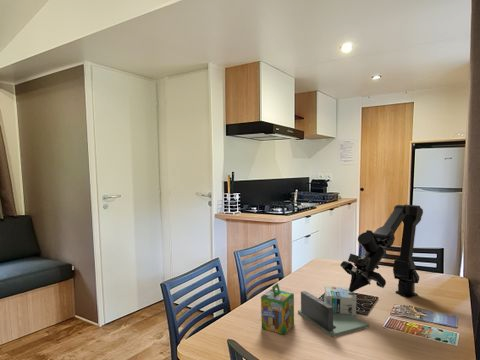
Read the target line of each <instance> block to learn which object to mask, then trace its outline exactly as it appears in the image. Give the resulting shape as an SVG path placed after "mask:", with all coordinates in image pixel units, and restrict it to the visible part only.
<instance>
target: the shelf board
mask: <svg viewBox="0 0 480 360" xmlns="http://www.w3.org/2000/svg"><path fill="white" fill-rule="evenodd" d="M297 313H298V315H301V316H302V317H303V318H304V319H306V320H308V321H309V322H310V323H311V324H313V325H314V326H316V327H317V328H318V329H320V330H321V331H323V332H324V333H326V334H327V335H328V336H330V337H331V338H335V337H339V336H342V335H345V334H349V333H352V332H357V331H359V330H364V329H366V328H369V327H370V324H369V323H367V322H365V321H364V320H362V319H361V318H359V317H356V316H355V315H353V314H340V313H333V325H334V326H336V328H333V330H332V331H329V332H328V331H327V330H326V329H324V328H323V327H321V326H320V325H318V324H317V323H315V322H314V321H313V320H311V319H310V318H308V317H307V316H305V315H304V314H303V313H301V309H299V310H297Z"/></svg>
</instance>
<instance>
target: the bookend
mask: <svg viewBox="0 0 480 360" xmlns="http://www.w3.org/2000/svg"><path fill="white" fill-rule="evenodd" d="M300 310H301V313H303V314H304V315H305V316H307V317H308V318H310V319H311V320H313V321H314V322H315V323H317V324H318V325H320V326H321V327H323V328H324V329H326V330H327V331H328V332H329V331H332V330H333V328H336V326H334V325H333V307H332V306H331V305H329V304H327V303H325V302H324V300H322V299H320V298H318V297H317V296H315V295H314V294H311V293H310V292H308V291H306V290H303V291H300Z"/></svg>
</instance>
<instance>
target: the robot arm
mask: <svg viewBox="0 0 480 360" xmlns="http://www.w3.org/2000/svg"><path fill="white" fill-rule="evenodd" d="M423 214H424V209H423V208H422V207H421V206H420V205H416V204H415V205H414V204H396V205H395V206H394V207H393V211H392V212H391V213H390V215H389V216H388V218H387V219H386V220H385V222H384V224H383V225H382V226H380V227H378V228H377V229H376V230H375V231H374V232H373V230H369V229H366V231H365V232H362V233H360V234H359V235H358V236H357V242H358V243H359V245H360V246H361V248H362V249H363V250H364V251H365V252H366V253H365V254H362V255H360V256H359V255H356V254H354V253H349V255H348V259H347V260H343V261H342V262H341V263H340V267H341V268H342V269H343V270H344V271H345V273H347V275H350V276H351V277H350V278H351V279H350V282H349V283H350V284H349V287H348V288H349V291H350V292H354V293H355V291H357V290H359V289H361V288H364V287H365V286H368V285H371V281H374V282H376V283H375V284H376V286H377V287H380V288H382V289H385V286H386V284H387V281H386V279H385V278H384V276H382V274H380V273H379V272H376V271H375V270H376V269H377V270H378V269H379V268H380V266H379V263H380V262H381V261H382V259H383V258H387V257H388V253H387V249H384V248H391V247H392V246H393V244H394V241H395V239H396V238H395V233H396V232H397V230H398V228H399V227H400V225H401V224H402V223H403V227H402V234H401V243H400V245H401V246H400V251H399V257H398V258H397V259H394V261H393V266H392V267H393V268H392V273H393V278H394V279H395V280H398V284H397V290H395V291H394V292H395V293H396V294H399V295H401V296H403V297H405V298H412V297H415V296H418V295H419V294H418V292H415V288H416V287H415V286H416V285H415V284H418V283H419V281H420V275H419V273H418V272H417V271H416V264H415V262H414V259H413V255H414V254H413V253H414V246H415V237H416V230H417V226H418V224H419V223H420V222H421V221H422V218H423V217H422V216H423ZM352 263H353V264H352Z"/></svg>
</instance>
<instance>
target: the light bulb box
mask: <svg viewBox="0 0 480 360" xmlns="http://www.w3.org/2000/svg"><path fill="white" fill-rule="evenodd" d="M323 301H324V302H325V303H327V304H329V305H331V306H332V307H333V313H340V314H352V315H353V316H355V315H357V296H356V295H355V291H354V292H350V291H349V287H339V286H327V285H325V286H324V299H323Z"/></svg>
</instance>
